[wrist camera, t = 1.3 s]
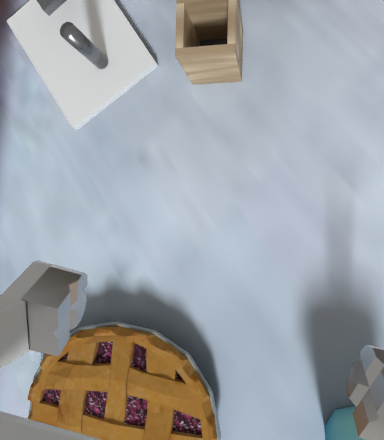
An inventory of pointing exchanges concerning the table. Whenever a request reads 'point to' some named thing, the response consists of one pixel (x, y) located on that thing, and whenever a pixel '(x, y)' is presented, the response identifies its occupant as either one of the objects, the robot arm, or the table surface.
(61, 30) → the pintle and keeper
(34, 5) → the base plate
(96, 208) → the table surface
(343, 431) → the cup
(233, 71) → the wooden pencil holder
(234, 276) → the table surface
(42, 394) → the pie
